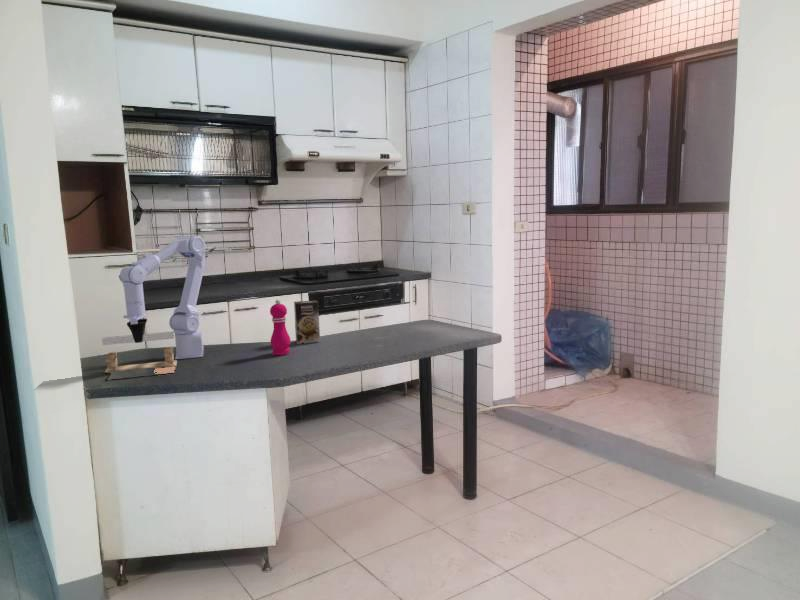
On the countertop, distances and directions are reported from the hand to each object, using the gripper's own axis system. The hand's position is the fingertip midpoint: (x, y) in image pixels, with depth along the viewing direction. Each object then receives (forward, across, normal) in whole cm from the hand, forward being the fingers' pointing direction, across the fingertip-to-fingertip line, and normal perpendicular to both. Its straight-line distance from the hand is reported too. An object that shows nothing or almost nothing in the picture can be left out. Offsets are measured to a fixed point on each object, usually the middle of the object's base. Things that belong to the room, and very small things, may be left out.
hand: (139, 341), depth 199 cm
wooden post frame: (+9, 0, 0) cm, 9 cm away
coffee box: (+10, -17, +59) cm, 62 cm away
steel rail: (0, 0, 0) cm, 0 cm away
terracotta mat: (+9, +8, +1) cm, 12 cm away
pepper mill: (+10, -1, +47) cm, 48 cm away
